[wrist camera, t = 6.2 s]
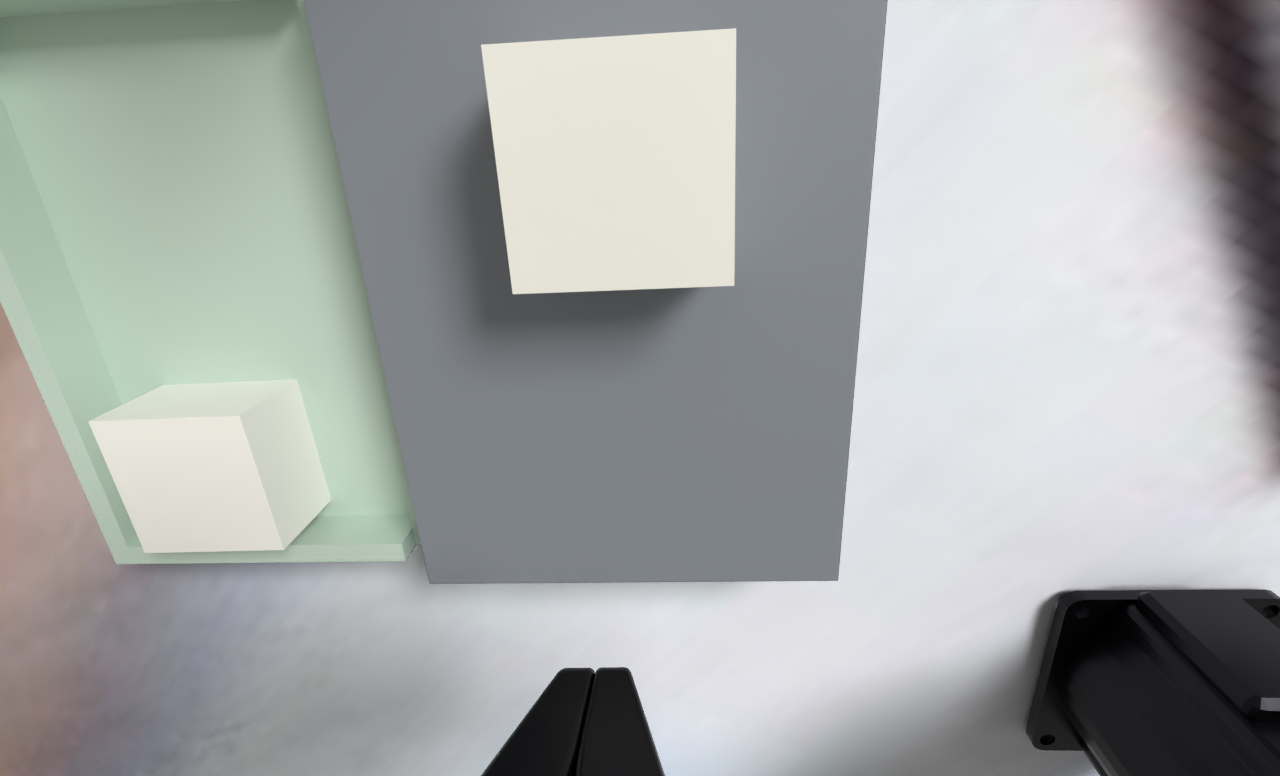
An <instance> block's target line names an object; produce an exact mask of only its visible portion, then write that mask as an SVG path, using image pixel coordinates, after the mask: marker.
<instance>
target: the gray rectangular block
mask: <svg viewBox="0 0 1280 776" xmlns="http://www.w3.org/2000/svg"><path fill="white" fill-rule="evenodd" d="M887 1H888V0H304V3H305V7H306V12H307V17H308V21H309V26H310V31H311V35H312V40H313V44H314V49H315V54H316V58H317V63H318V68H319V72H320V77H321V82H322V86H323V91H324V95H325V100H326V105H327V109H328V114H329V119H330V123H331V128H332V133H333V137H334V142H335V146H336V151H337V156H338V160H339V165H340V170H341V174H342V179H343V184H344V188H345V193H346V198H347V202H348V207H349V211H350V216H351V221H352V225H353V230H354V235H355V239H356V244H357V249H358V253H359V258H360V262H361V267H362V272H363V276H364V281H365V286H366V290H367V295H368V300H369V304H370V309H371V314H372V318H373V323H374V327H375V332H376V337H377V341H378V346H379V351H380V355H381V360H382V365H383V369H384V374H385V378H386V383H387V388H388V392H389V397H390V402H391V406H392V411H393V416H394V420H395V425H396V429H397V434H398V439H399V443H400V448H401V453H402V457H403V462H404V467H405V471H406V476H407V481H408V485H409V490H410V494H411V499H412V504H413V508H414V513H415V518H416V522H417V527H418V532H419V536H420V541H421V545H422V550H423V555H424V559H425V564H426V569H427V573H428V578H429V583H430V584H474V583H601V582H729V581H838V574H839V563H840V551H841V539H842V527H843V516H844V504H845V492H846V481H847V469H848V457H849V446H850V434H851V422H852V410H853V399H854V387H855V375H856V364H857V352H858V340H859V328H860V317H861V305H862V293H863V282H864V270H865V258H866V246H867V235H868V223H869V211H870V200H871V188H872V176H873V164H874V153H875V141H876V129H877V118H878V106H879V94H880V83H881V71H882V59H883V47H884V36H885V24H886V12H887ZM733 28H736V144H735V276H734V286H718V287H691V288H665V289H638V290H612V291H586V292H559V293H533V294H513V293H512V285H511V277H510V269H509V262H508V254H507V246H506V238H505V230H504V222H503V214H502V207H501V199H500V191H499V183H498V175H497V167H496V159H495V152H494V144H493V136H492V128H491V120H490V112H489V104H488V97H487V89H486V81H485V73H484V65H483V57H482V49H481V45H483V44H499V43H514V42H530V41H545V40H561V39H577V38H592V37H608V36H624V35H639V34H655V33H670V32H686V31H702V30H717V29H733Z"/></svg>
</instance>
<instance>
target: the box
mask: <svg viewBox="0 0 1280 776" xmlns="http://www.w3.org/2000/svg"><path fill="white" fill-rule="evenodd" d="M0 302H1V304H2V306H3V308H4V311H5V313H6V315H7V318H8V320H9V322H10V324H11V327H12V329H13V331H14V333H15V336H16V338H17V340H18V343H19V345H20V347H21V349H22V352H23V354H24V356H25V358H26V361H27V363H28V365H29V368H30V370H31V372H32V374H33V377H34V379H35V381H36V383H37V386H38V388H39V390H40V392H41V395H42V397H43V399H44V402H45V404H46V406H47V408H48V411H49V413H50V415H51V417H52V420H53V422H54V424H55V427H56V429H57V431H58V433H59V436H60V438H61V440H62V442H63V445H64V447H65V449H66V451H67V454H68V456H69V458H70V461H71V463H72V465H73V467H74V470H75V472H76V474H77V476H78V479H79V481H80V483H81V486H82V488H83V490H84V492H85V495H86V497H87V499H88V501H89V504H90V506H91V508H92V511H93V513H94V515H95V517H96V520H97V522H98V524H99V526H100V529H101V531H102V533H103V535H104V538H105V540H106V542H107V545H108V547H109V549H110V551H111V554H112V556H113V558H114V560H115V563H116V564H183V563H280V562H378V561H406V559H407V558H408V556H409V555H410V553H411V552H412V550H413V548H414V547H415V545H417V544H421V541H420V536H419V532H418V527H417V522H416V518H415V513H414V508H413V504H412V499H411V494H410V490H409V485H408V481H407V476H406V471H405V467H404V462H403V457H402V453H401V448H400V443H399V439H398V434H397V429H396V425H395V420H394V416H393V411H392V406H391V402H390V397H389V392H388V388H387V383H386V378H385V374H384V369H383V365H382V360H381V355H380V351H379V346H378V341H377V337H376V332H375V327H374V323H373V318H372V314H371V309H370V304H369V300H368V295H367V290H366V286H365V281H364V276H363V272H362V267H361V262H360V258H359V253H358V249H357V244H356V239H355V235H354V230H353V225H352V221H351V216H350V211H349V207H348V202H347V198H346V193H345V188H344V184H343V179H342V174H341V170H340V165H339V160H338V156H337V151H336V146H335V142H334V137H333V133H332V128H331V123H330V119H329V114H328V109H327V105H326V100H325V95H324V91H323V86H322V82H321V77H320V72H319V68H318V63H317V58H316V54H315V49H314V44H313V40H312V35H311V31H310V26H309V21H308V17H307V12H306V7H305V3H304V0H0ZM295 379H297V382H298V386H299V389H300V393H301V396H302V400H303V403H304V407H305V410H306V414H307V417H308V421H309V424H310V428H311V431H312V435H313V438H314V442H315V445H316V449H317V452H318V456H319V459H320V463H321V466H322V470H323V473H324V477H325V480H326V484H327V487H328V491H329V494H330V498H331V501H330V502H329V503H328V504H327V505H326V506H325V507H324V508H323V509H322V510H321V511H320V513H319V514H318V515H317V516H316V517H315V518H314V519H313V520H312V521H311V522H310V523H309V524H308V525H307V526H306V527H305V528H304V529H303V530H302V531H301V533H300V534H299V535H298V536H297V537H296V538H295V539H294V540H293V541H292V542H291V543H290V544H289V545H288V546H287V547H286V548H285V549H284V550H262V551H217V552H172V553H145V552H144V550H143V548H142V545H141V543H140V541H139V538H138V536H137V534H136V531H135V529H134V527H133V524H132V522H131V520H130V517H129V515H128V513H127V510H126V508H125V506H124V503H123V501H122V499H121V497H120V494H119V492H118V490H117V487H116V485H115V483H114V480H113V478H112V476H111V473H110V471H109V469H108V466H107V464H106V462H105V459H104V457H103V455H102V452H101V450H100V448H99V445H98V443H97V441H96V438H95V436H94V434H93V431H92V429H91V427H90V424H89V422H88V421H90V420H92V419H94V418H96V417H98V416H100V415H102V414H104V413H107V412H109V411H111V410H113V409H115V408H117V407H119V406H121V405H123V404H125V403H127V402H130V401H132V400H134V399H136V398H138V397H140V396H142V395H144V394H146V393H148V392H150V391H153V390H155V389H157V388H159V387H161V386H163V385H176V384H200V383H223V382H247V381H271V380H295Z"/></svg>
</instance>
